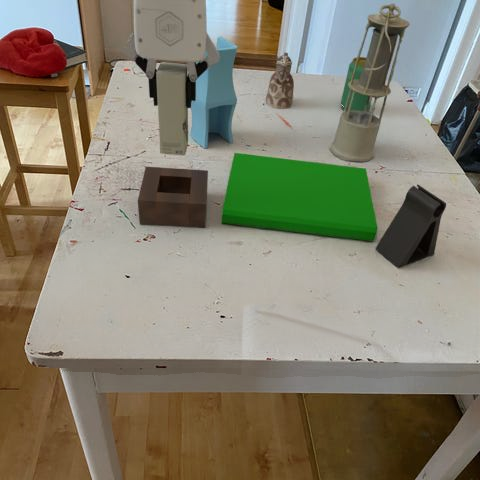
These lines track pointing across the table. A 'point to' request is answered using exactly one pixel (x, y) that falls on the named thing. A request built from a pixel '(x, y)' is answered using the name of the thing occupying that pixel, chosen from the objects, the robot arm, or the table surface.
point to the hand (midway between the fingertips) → (173, 102)
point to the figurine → (281, 84)
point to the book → (299, 197)
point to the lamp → (370, 87)
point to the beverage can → (358, 99)
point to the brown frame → (173, 197)
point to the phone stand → (413, 228)
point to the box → (172, 108)
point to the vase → (215, 97)
